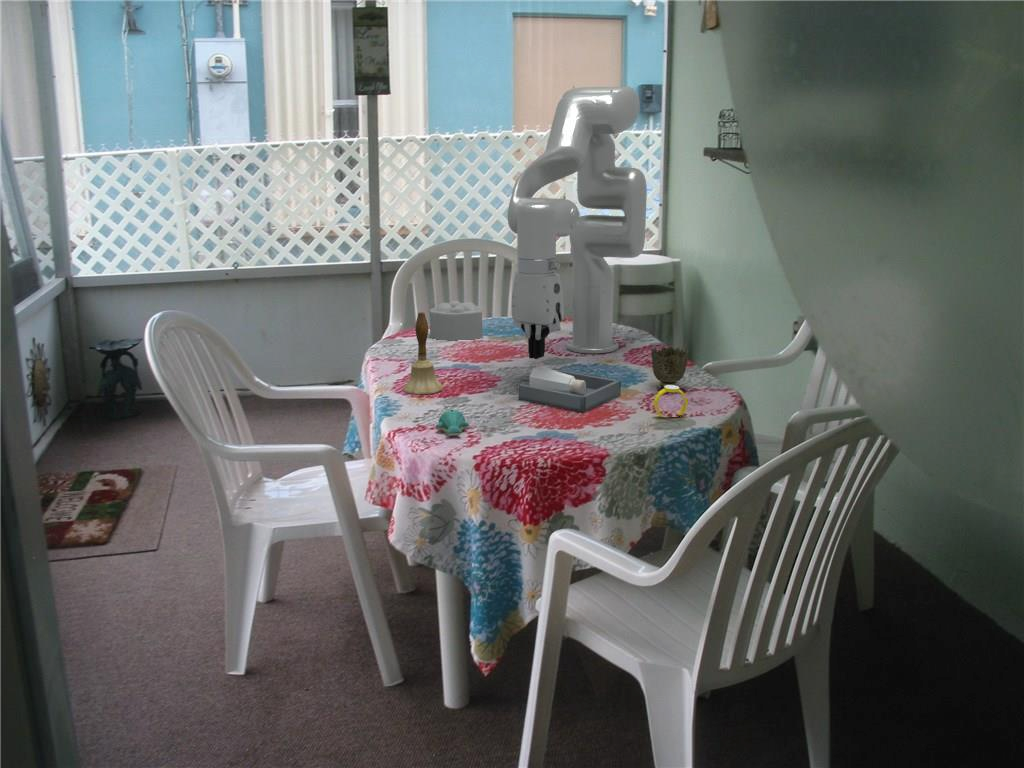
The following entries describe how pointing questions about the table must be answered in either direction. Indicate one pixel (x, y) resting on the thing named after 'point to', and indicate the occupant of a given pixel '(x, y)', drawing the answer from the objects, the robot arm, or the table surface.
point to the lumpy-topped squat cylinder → (456, 321)
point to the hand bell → (422, 364)
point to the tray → (593, 396)
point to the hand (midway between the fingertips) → (536, 357)
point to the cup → (669, 365)
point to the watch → (670, 389)
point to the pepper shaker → (555, 381)
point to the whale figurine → (452, 423)
